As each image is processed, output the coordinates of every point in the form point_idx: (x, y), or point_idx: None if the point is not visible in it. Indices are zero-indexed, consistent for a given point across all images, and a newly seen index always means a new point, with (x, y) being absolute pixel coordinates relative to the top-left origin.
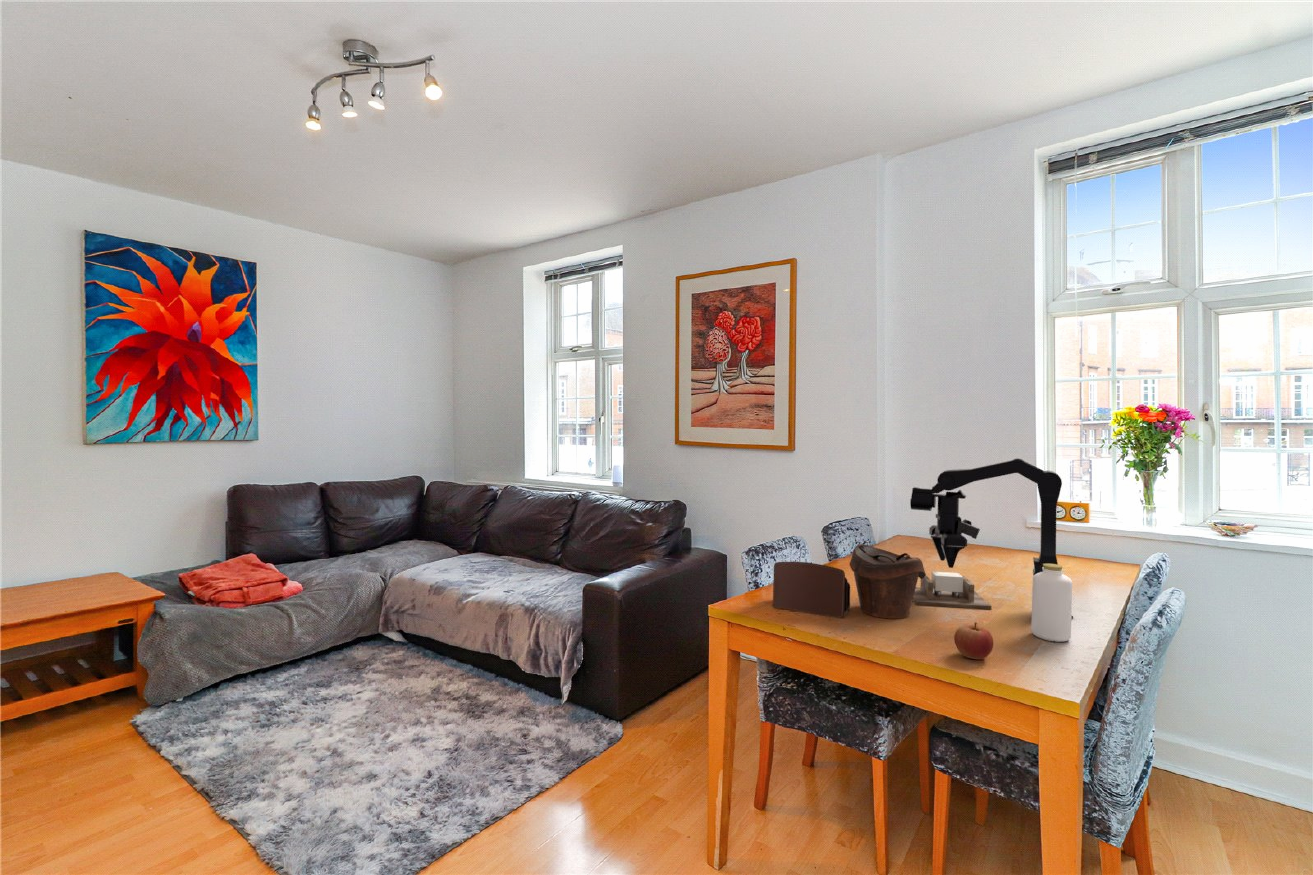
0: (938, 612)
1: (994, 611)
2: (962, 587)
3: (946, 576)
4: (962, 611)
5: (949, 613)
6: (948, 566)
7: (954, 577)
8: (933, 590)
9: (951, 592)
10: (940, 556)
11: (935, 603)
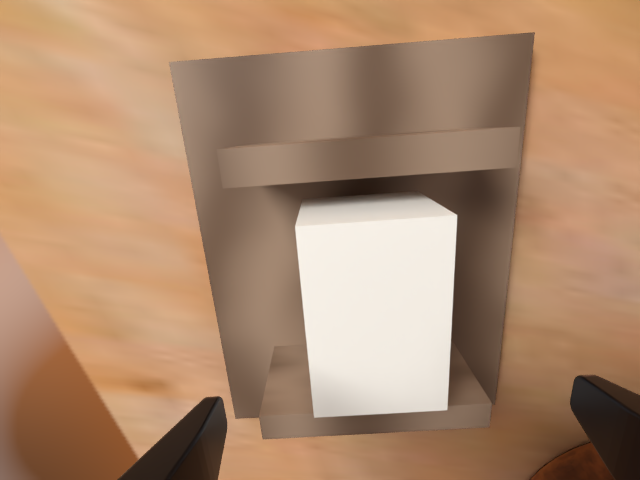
0: (595, 324)
1: (557, 28)
2: (427, 198)
3: (449, 341)
4: (571, 215)
5: (609, 281)
6: (582, 419)
7: (449, 281)
8: (265, 307)
9: (275, 220)
10: (213, 476)
11: (501, 329)
